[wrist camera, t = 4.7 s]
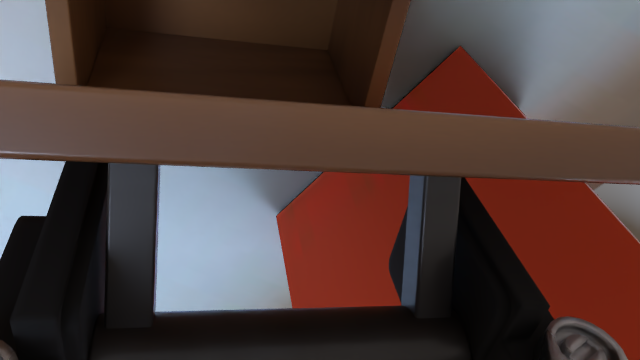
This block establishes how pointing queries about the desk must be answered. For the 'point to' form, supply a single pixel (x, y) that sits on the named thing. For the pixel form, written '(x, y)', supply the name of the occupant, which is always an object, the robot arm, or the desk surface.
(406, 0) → the box
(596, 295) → the file binder
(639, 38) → the desk surface
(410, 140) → the wooden box lid
